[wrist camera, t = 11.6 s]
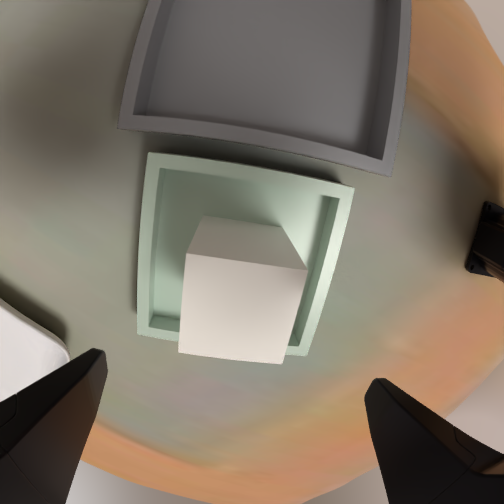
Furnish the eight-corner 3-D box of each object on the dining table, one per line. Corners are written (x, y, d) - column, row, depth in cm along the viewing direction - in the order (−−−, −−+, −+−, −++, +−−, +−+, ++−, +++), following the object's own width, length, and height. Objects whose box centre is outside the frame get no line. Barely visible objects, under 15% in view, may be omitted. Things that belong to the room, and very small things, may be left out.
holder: (342, 183, 19) (355, 188, 17) (300, 338, 23) (306, 356, 20) (157, 151, 17) (147, 152, 15) (144, 317, 21) (137, 334, 19)
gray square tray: (392, -11, 14) (410, -26, 11) (369, 172, 19) (390, 177, 16) (187, -55, 12) (182, -77, 9) (134, 130, 17) (116, 128, 14)
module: (282, 227, 19) (308, 270, 12) (267, 297, 20) (282, 363, 14) (203, 215, 18) (186, 253, 12) (194, 287, 20) (178, 352, 13)
